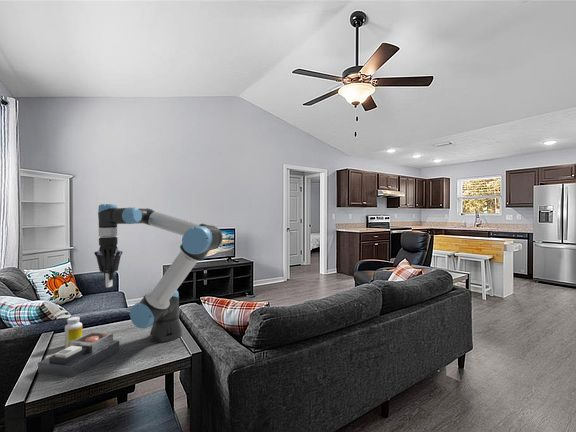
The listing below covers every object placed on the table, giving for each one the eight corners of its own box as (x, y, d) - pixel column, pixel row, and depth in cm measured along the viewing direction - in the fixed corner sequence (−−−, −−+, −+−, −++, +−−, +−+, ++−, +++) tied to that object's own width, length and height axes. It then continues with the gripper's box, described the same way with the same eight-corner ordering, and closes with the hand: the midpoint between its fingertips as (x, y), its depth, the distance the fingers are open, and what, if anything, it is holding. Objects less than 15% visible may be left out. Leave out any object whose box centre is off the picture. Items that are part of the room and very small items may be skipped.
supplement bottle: (85, 343, 137) (85, 316, 137) (71, 350, 131) (71, 321, 131) (75, 342, 140) (75, 315, 140) (61, 347, 133) (61, 319, 133)
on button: (81, 354, 119) (81, 346, 119) (65, 362, 112) (65, 354, 112) (71, 353, 120) (71, 345, 120) (55, 361, 113) (55, 353, 113)
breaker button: (101, 343, 129) (101, 336, 129) (92, 348, 124) (92, 341, 124) (92, 342, 129) (92, 335, 129) (82, 347, 125) (82, 340, 125)
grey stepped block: (119, 349, 131) (119, 332, 131) (73, 377, 109) (73, 357, 109) (89, 346, 134) (89, 330, 134) (38, 372, 112) (38, 353, 112)
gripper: (126, 236, 140) (127, 284, 140) (101, 236, 142) (102, 284, 142) (115, 237, 133) (116, 288, 133) (89, 237, 134) (90, 288, 134)
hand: (109, 286), depth 137 cm, fingers closed
